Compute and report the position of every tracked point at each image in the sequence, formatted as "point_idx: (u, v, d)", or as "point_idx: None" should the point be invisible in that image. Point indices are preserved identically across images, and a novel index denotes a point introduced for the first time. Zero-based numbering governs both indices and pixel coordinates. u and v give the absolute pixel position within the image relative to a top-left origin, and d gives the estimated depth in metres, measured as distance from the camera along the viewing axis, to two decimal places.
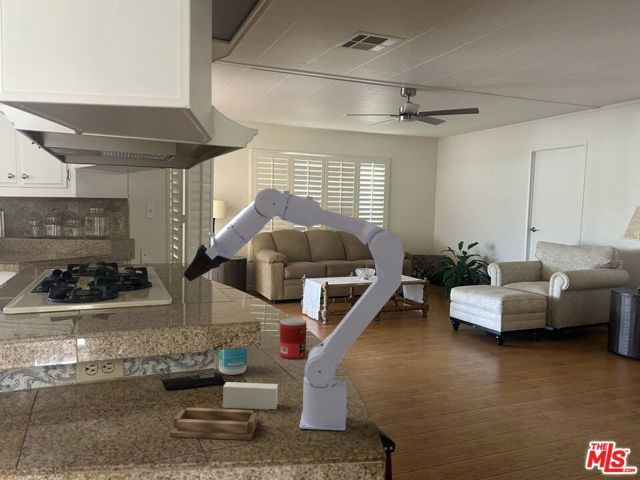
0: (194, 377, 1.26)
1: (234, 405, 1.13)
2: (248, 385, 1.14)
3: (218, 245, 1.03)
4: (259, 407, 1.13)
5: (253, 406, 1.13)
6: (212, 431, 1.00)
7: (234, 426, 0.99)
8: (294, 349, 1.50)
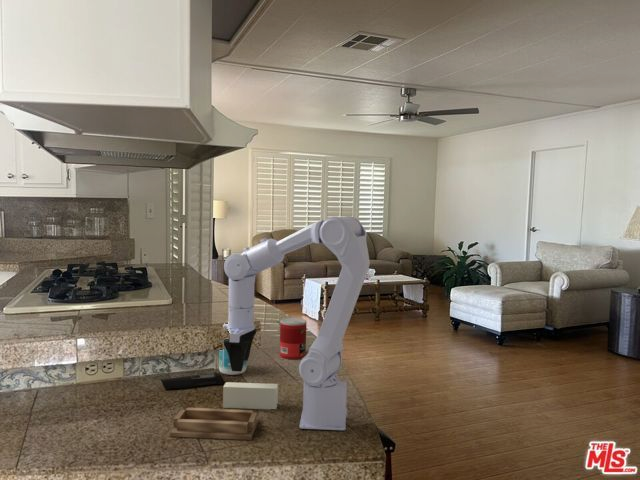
0: (194, 377, 1.26)
1: (234, 405, 1.13)
2: (248, 385, 1.14)
3: (235, 328, 1.11)
4: (259, 407, 1.13)
5: (253, 406, 1.13)
6: (212, 431, 1.00)
7: (234, 426, 0.99)
8: (294, 349, 1.50)
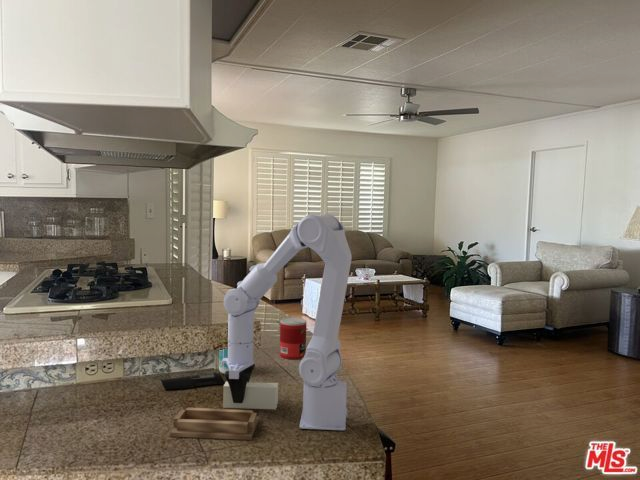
0: (194, 377, 1.26)
1: (235, 404, 1.13)
2: (248, 384, 1.15)
3: (235, 364, 1.11)
4: (259, 406, 1.13)
5: (253, 405, 1.13)
6: (212, 431, 1.00)
7: (234, 426, 0.99)
8: (294, 349, 1.50)
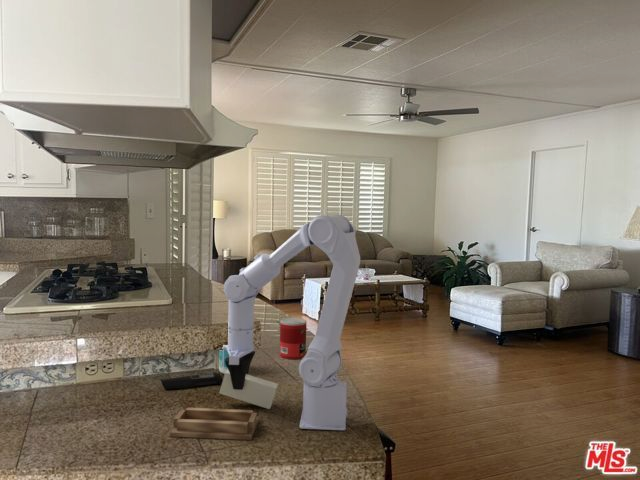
0: (193, 377, 1.26)
1: (231, 393, 1.13)
2: (249, 377, 1.14)
3: (235, 350, 1.11)
4: (254, 402, 1.13)
5: (249, 399, 1.13)
6: (212, 431, 1.00)
7: (234, 426, 0.99)
8: (294, 349, 1.50)
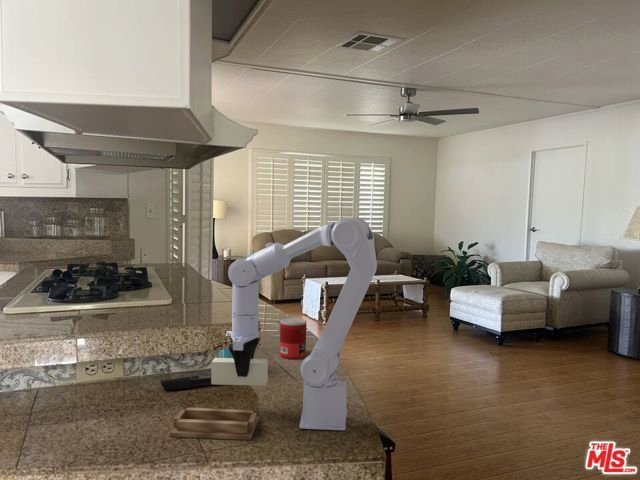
0: (193, 378, 1.26)
1: (223, 381, 1.11)
2: None
3: (239, 336, 1.08)
4: (248, 382, 1.10)
5: (242, 381, 1.10)
6: (212, 431, 1.00)
7: (234, 426, 0.99)
8: (294, 349, 1.50)
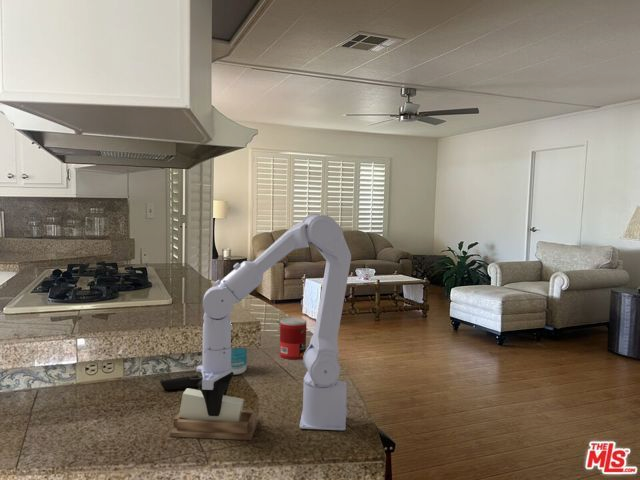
0: (193, 377, 1.25)
1: (192, 416, 1.02)
2: None
3: (210, 372, 0.99)
4: None
5: None
6: (212, 431, 1.00)
7: (234, 426, 0.99)
8: (294, 349, 1.50)
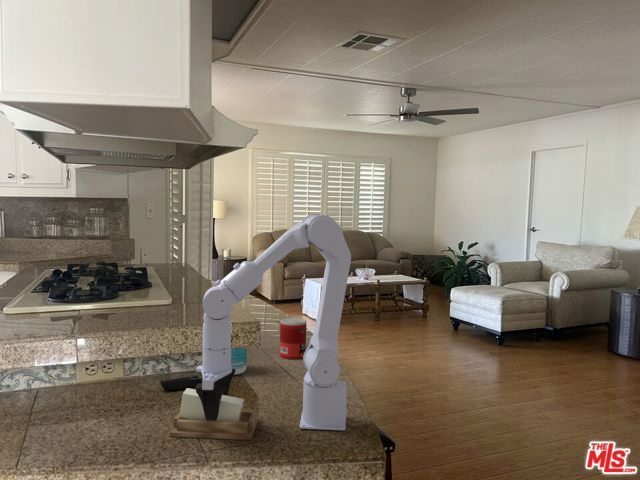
0: (193, 378, 1.25)
1: (192, 416, 1.02)
2: None
3: (210, 372, 0.99)
4: None
5: None
6: (212, 431, 1.00)
7: (234, 426, 0.99)
8: (294, 349, 1.50)
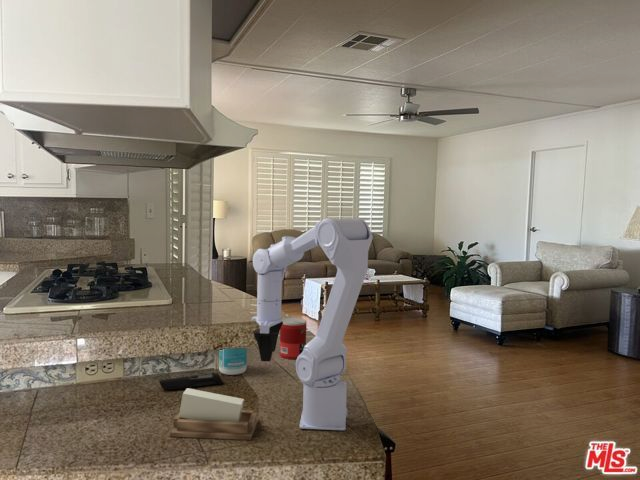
0: (192, 377, 1.26)
1: (192, 416, 1.02)
2: (211, 396, 1.03)
3: (264, 320, 1.17)
4: None
5: None
6: (212, 431, 1.00)
7: (234, 426, 0.99)
8: (294, 349, 1.50)
